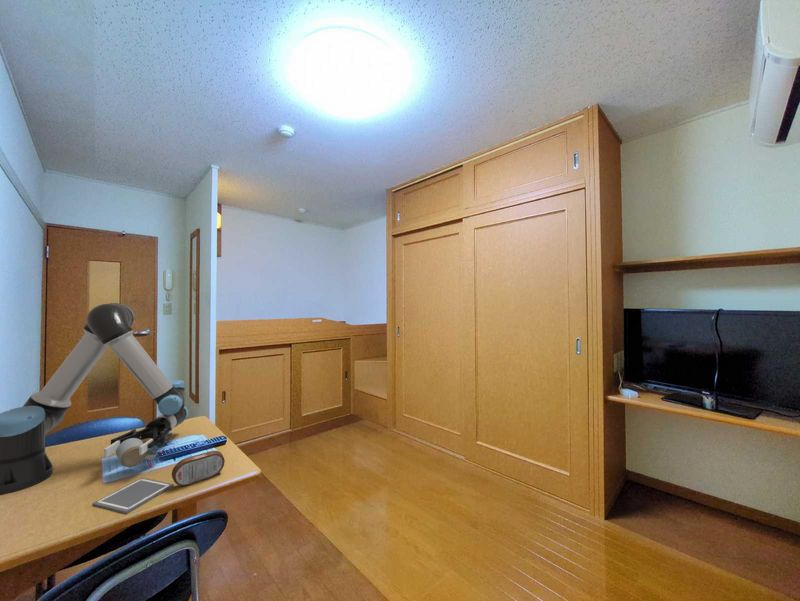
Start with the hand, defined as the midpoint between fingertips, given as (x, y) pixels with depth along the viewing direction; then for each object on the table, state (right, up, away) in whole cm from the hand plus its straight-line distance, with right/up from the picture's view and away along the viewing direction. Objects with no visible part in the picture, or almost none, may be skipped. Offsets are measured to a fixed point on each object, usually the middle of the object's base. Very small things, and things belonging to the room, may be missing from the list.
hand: (122, 452), depth 108 cm
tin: (+26, -9, 0) cm, 28 cm away
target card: (+11, -9, -9) cm, 17 cm away
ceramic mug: (0, -6, +5) cm, 8 cm away
